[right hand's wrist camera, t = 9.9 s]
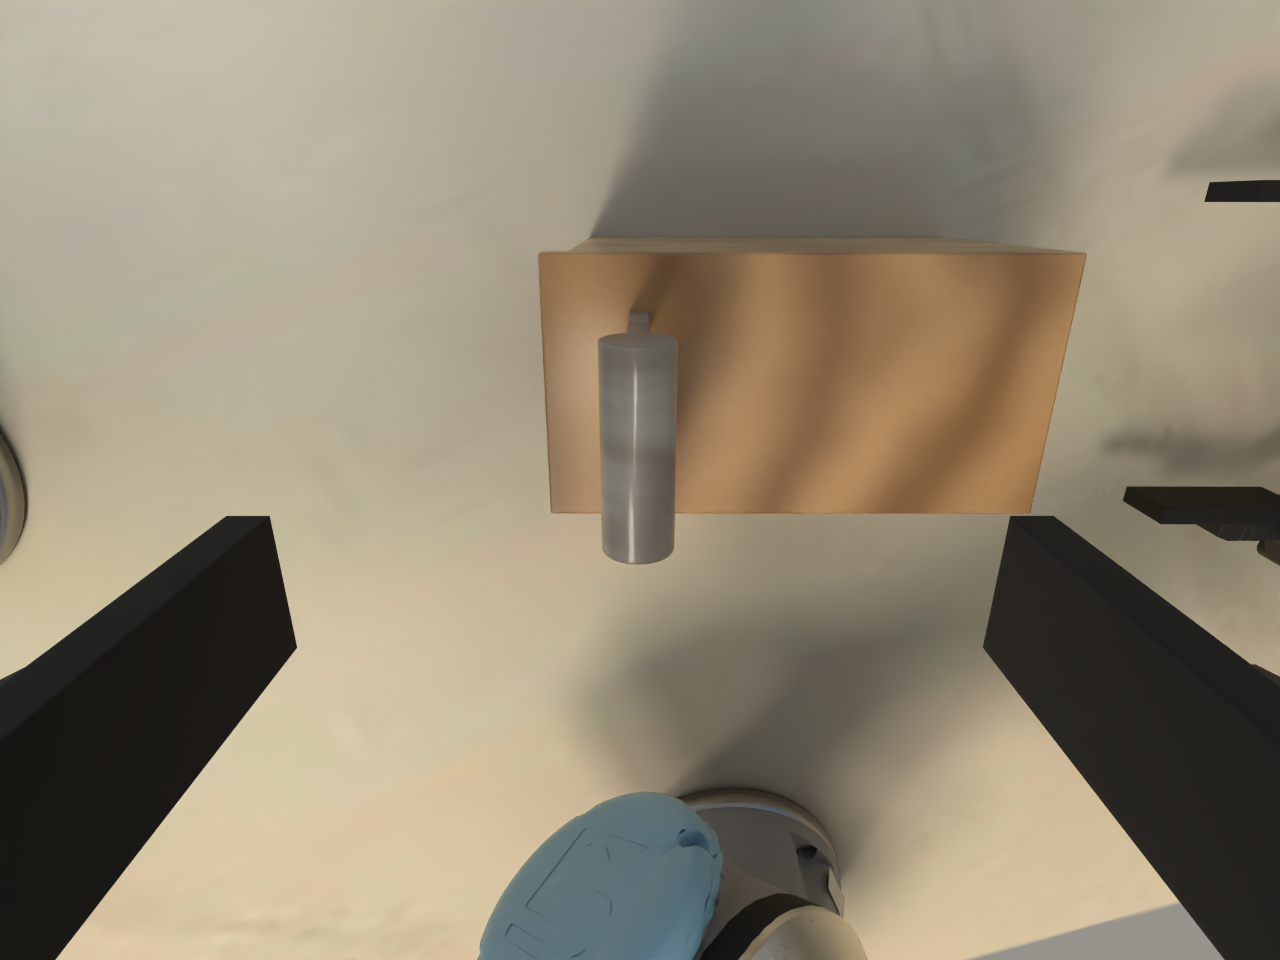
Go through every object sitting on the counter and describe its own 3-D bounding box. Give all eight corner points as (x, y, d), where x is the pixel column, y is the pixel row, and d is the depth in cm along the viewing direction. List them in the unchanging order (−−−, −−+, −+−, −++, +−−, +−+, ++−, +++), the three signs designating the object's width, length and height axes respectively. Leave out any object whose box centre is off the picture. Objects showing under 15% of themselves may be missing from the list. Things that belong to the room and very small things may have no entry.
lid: (554, 503, 28) (520, 619, 20) (541, 250, 25) (495, 272, 17) (1017, 503, 28) (1163, 619, 20) (1070, 250, 25) (1272, 273, 17)
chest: (593, 422, 39) (576, 503, 28) (588, 237, 35) (567, 251, 25) (915, 423, 39) (1016, 503, 28) (943, 237, 35) (1070, 251, 25)
